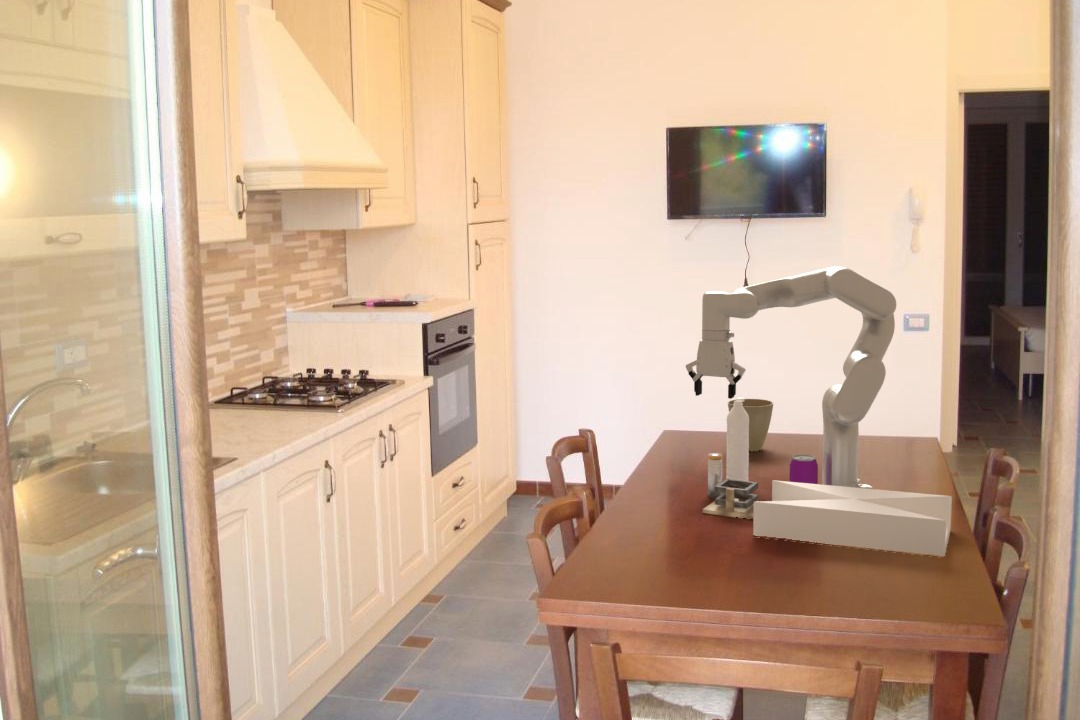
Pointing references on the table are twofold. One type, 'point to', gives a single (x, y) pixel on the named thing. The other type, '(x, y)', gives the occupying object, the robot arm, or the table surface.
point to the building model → (855, 517)
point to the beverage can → (803, 469)
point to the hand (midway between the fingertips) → (714, 396)
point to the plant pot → (756, 420)
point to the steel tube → (714, 473)
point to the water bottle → (737, 442)
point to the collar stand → (734, 499)
